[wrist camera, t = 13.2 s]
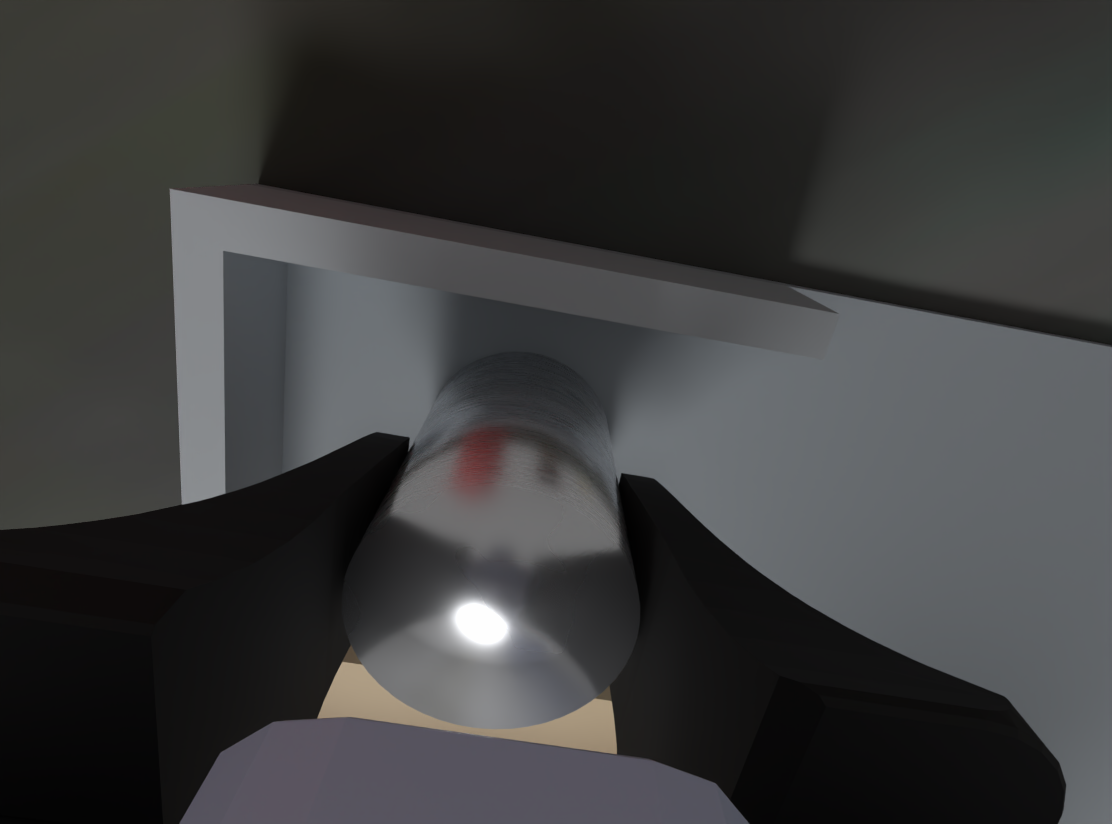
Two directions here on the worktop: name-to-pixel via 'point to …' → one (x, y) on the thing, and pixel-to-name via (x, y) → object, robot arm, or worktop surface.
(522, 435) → the metal peg
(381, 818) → the robot arm
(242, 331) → the parts board
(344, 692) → the oak tile
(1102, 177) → the worktop surface
